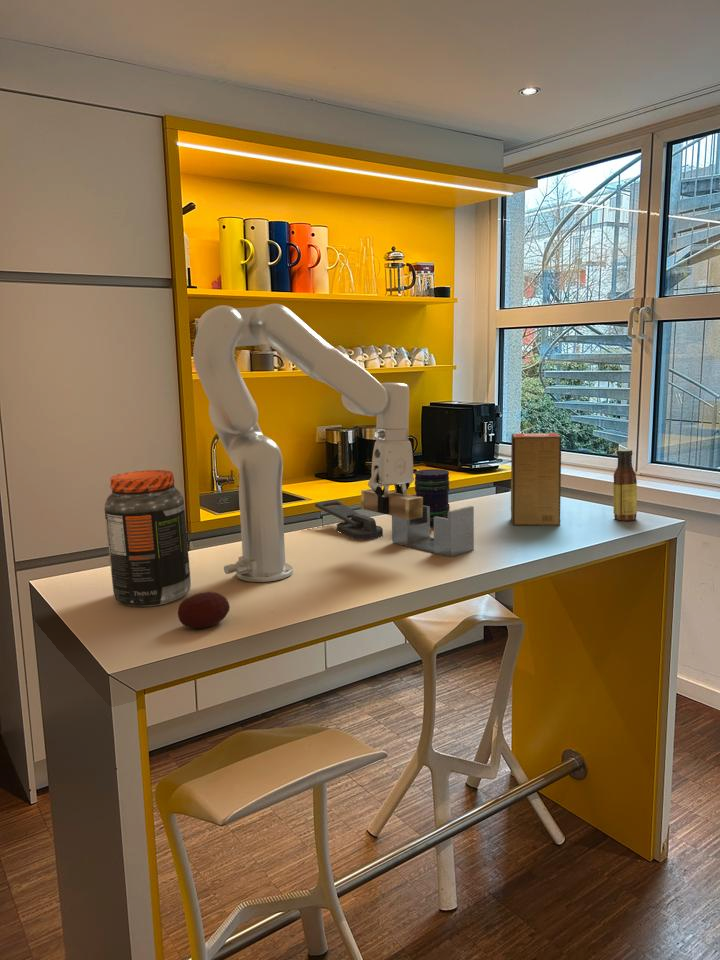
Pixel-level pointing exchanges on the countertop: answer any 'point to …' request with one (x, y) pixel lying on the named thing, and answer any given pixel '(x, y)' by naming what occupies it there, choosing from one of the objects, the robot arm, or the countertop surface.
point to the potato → (203, 610)
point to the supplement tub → (147, 538)
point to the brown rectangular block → (394, 504)
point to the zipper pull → (352, 521)
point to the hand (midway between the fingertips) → (390, 511)
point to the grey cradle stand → (437, 532)
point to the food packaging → (535, 479)
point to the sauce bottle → (625, 487)
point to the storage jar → (433, 491)
